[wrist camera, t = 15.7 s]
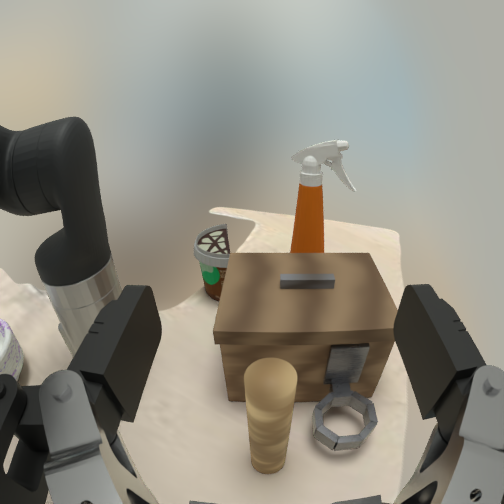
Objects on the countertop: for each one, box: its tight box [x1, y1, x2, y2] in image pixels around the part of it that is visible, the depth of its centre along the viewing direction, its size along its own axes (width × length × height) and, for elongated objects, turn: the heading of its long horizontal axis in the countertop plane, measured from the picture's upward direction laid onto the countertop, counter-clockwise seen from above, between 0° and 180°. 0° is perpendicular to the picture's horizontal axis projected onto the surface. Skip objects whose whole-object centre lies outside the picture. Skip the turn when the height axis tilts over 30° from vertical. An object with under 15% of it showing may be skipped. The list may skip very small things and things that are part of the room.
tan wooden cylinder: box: [244, 358, 297, 474], centre depth 24 cm, size 4×4×16 cm
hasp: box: [312, 343, 378, 451], centre depth 27 cm, size 7×8×8 cm
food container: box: [194, 224, 230, 301], centre depth 54 cm, size 12×6×10 cm, turn 8°
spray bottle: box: [290, 140, 356, 253], centre depth 49 cm, size 7×11×26 cm, turn 63°
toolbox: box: [213, 253, 398, 402], centre depth 37 cm, size 19×15×14 cm
